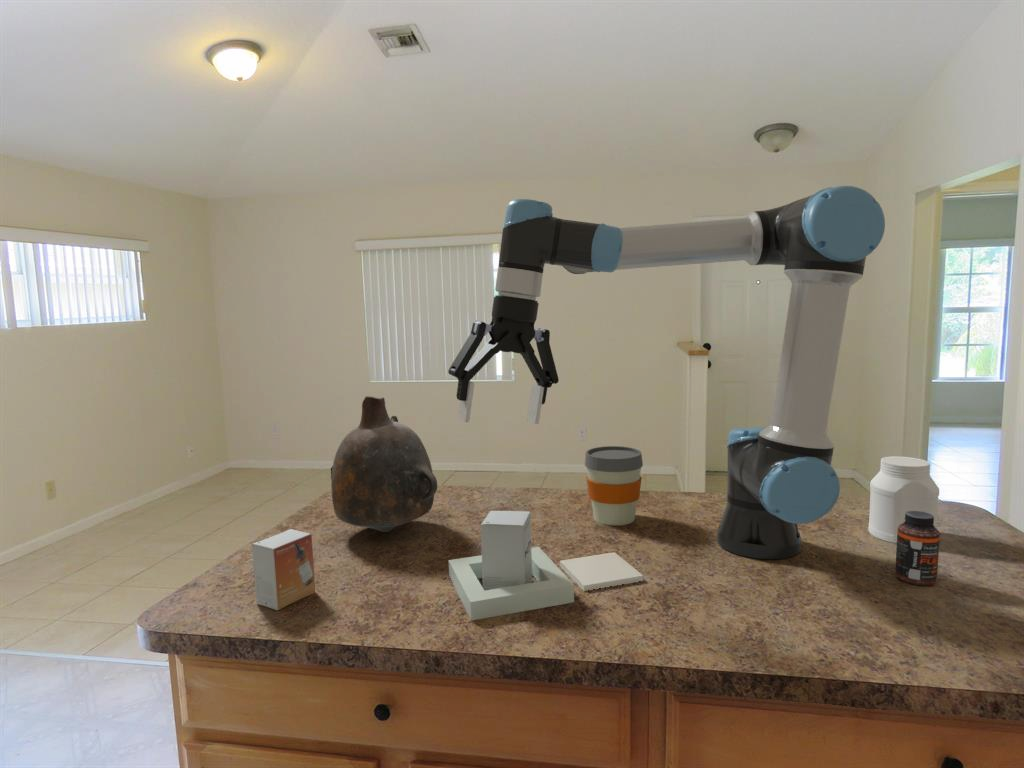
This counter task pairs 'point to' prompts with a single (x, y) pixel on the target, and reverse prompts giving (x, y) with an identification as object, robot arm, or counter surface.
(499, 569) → the supplement box
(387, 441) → the jug
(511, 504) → the counter surface
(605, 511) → the reusable coffee cup
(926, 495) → the jar
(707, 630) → the counter surface
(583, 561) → the tile
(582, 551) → the counter surface
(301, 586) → the small box
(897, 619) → the counter surface
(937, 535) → the supplement bottle
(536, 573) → the holder
